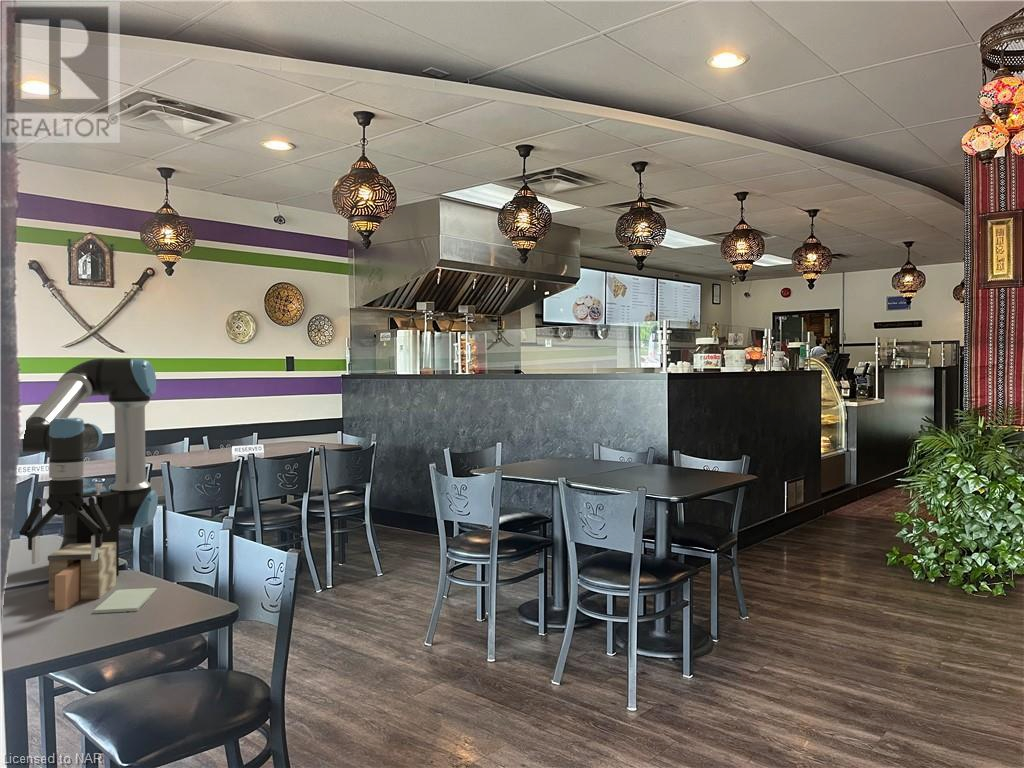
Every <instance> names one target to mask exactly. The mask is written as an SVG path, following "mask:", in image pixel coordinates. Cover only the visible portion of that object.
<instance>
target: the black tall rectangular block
mask: <svg viewBox="0 0 1024 768" xmlns="http://www.w3.org/2000/svg"><path fill="white" fill-rule="evenodd" d="M94 487H95V488H96V492H92V493H88V494H83V496H84V498H89V497H92V496H96V497H97V503H98V506H99V508H100V510H101V511H102V513H103V515H104V517H105V519H106V521H107V523H108V524H109V526H110V530H109V531H108V532H106V533H103V534H102V543H103V542H116V577H118V576H119V567H120V566H119V561H120V559H119V553H120V551H119V549H120V547H119V545H120V544H119V542H120V533H119V531H120V528H119V492H110V491H106V492H101V489H102V487H103V483H102V482H101V483H99V482H98V483H94ZM81 507H82V508H83V509H84V510H85V511H86V513H87V514H88V515H89V516H90V517H91V518H92V519H93V521H94V522H95V523H96V524H97V525H98V526H99V524H98V522H97V520H96V519H95V517H94V515H93V513H92V511H91V509H90V507H89V506H88V505H87V504H86V503H85V502H84V504H83V505H82V506H81ZM99 527H100V526H99ZM93 535H94V533H93V532H92V531H91V530H90V529H89V528H88V527H87V526H86V525H85V524H84V522H83V521H82V520H81V519H80V518H79V517H77V543H91V536H93Z"/></svg>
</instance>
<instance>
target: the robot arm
mask: <svg viewBox="0 0 1024 768" xmlns="http://www.w3.org/2000/svg"><path fill="white" fill-rule="evenodd" d="M156 376H157V375H156V373H155V369H154V367H153V365H152V363H151V362H150V361H148V360H146V359H139V358H93V359H89V360H86V361H84V362H81V363H80V364H76V365H75V366H74V367H71V368H70V369H69V370H67V371H66V372H65V373H64V374H63V375H62V376H61V377H60V378H59V379H58V381H57V384H56V385H57V386H56V388H55V389H54V390H52V392H51V393H50V394H49V395H48V396H47V397H46V398H45V400H44V401H43V402H42V403H41V404H40V405H39V406H37V408H36V409H35V411H34V412H33V413H32V414H31V415H30V416H28V418H27V419H26V420H25V421H26V430H25V434H24V439H23V453H22V454H25V453H27V454H28V453H29V454H30V453H33V454H34V453H35V454H36V453H49V455H48V456H49V458H48V459H49V460H48V461H49V462H48V466H49V467H48V477H49V478H50V480H49V481H48V497H47V498H44V497H42V496H41V497H37V498H35V499H34V502H33V507H32V509H31V511H30V513H29V514H28V516H27V518H26V520H25V521H24V523H23V525H22V527H21V529H20V531H19V532H18V534H19V536H24V537H26V538H27V549H28V551H31V564H32V565H35V564H38V563H40V559H41V555H40V553H41V547H40V546H41V536H40V535H38V534H39V532H40V531H42V530H43V528H44V527H45V526H46V525H47V523H49V522H50V521H51V519H53V517H54V516H62V532H63V533H62V542H61V544H60V547H59V549H61V548H63V547H65V546H67V545H68V544H75V543H77V517H79V518H80V519H81V520H82V521H83V522H84V524H85V525H86V526H87V527H88V528H89V529H90V530H91V531H92V532H93V533H94V535H93V536H91V562H94V561H96V560H97V559H98V548H100V547H101V546H102V534H103V533H106V532H108V531H109V530H110V526H109V524H108V523H107V521H106V519H105V517H104V515H103V513H102V511H101V510H100V508H99V506H98V503H97V497H96V496H92V497H89V498H84V496H83V494H88V493H92V492H96V488H95V486H94V487H89V488H84V479H83V476H84V453H86V452H87V453H89V452H91V451H93V450H95V449H97V448H99V446H100V445H102V442H103V441H104V440H103V439H104V435H103V432H102V430H101V428H100V427H99V426H97V425H96V424H93V423H88V422H87V423H85V422H84V420H83V418H80V417H70V416H71V414H72V413H73V411H75V409H76V408H77V407H78V406H79V405H80V403H81V402H84V401H86V400H88V399H90V397H93V396H108V402H109V404H111V405H112V406H113V408H114V450H115V452H114V453H115V455H114V458H115V459H114V460H115V466H114V467H115V468H114V469H115V482H114V483H113V484H112V485H111V486H109V487H110V490H109V492H119V529H137V528H146V527H148V526H150V525H151V524H152V522H153V521H154V519H155V517H156V513H157V510H158V502H159V496H158V492H157V491H156V490H154V489H152V483H150V482H149V481H148V480H147V477H146V476H147V475H146V472H147V471H146V470H147V469H146V468H147V467H146V465H147V464H146V405H147V404H148V403H149V402H150V401H151V397H152V396H154V395H156V391H157V385H158V383H157V377H156ZM81 477H82V478H81ZM101 492H107V488H106V487H105V486H102V489H101ZM84 502H85V503H86V504H87V505H88V506H89V507H90V509H91V511H92V513H93V515H94V517H95V519H96V520H97V522H98V524H99V526H100V527H99V526H98V525H97V524H96V523H95V522H94V521H93V519H92V518H91V517H90V516H89V515H88V514H87V513H86V511H85V510H84V509H83V508H82V507H81V506H82V505H83V504H84ZM46 504H47V506H48V507H49V510H48V511H47V512H46V513H45V515H44V516H43V517H42V518H41V519H40V520H39V521H38V522H37V524H35V525H34V523H35V521H37V518H38V516H39V514H40V512H41V511H42V508H43V507H45V506H46ZM33 525H34V526H33ZM32 527H33V528H32Z"/></svg>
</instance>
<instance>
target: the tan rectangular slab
mask: <svg viewBox="0 0 1024 768" xmlns="http://www.w3.org/2000/svg"><path fill="white" fill-rule="evenodd" d="M80 600H81V560H79V561H77V562H75V563H74V564H72V565H71V566H69V567H68V568H66V569H65V570H63V571H61V572H60V573H58V574H57V575H55V601H54V611H55V610H64V611H67V610H68V609H69V608H71V607H72V606H73V605H75V602H76V603H77V602H78V601H80ZM71 605H72V606H71ZM67 608H68V609H67ZM66 609H67V610H66Z"/></svg>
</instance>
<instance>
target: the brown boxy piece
mask: <svg viewBox="0 0 1024 768" xmlns="http://www.w3.org/2000/svg"><path fill="white" fill-rule="evenodd" d="M79 560H81V599H80V600H81V601H82V600H98V599H100V598H102V597H103V596H104V595H105V594H107V592H109V591H110V590H111V589H113V588H114V587H115V586H116V585H117V576H116V542H103V543H102V546H101V547H100V548H98V559H97V560H96V561H94V562H91V543H75V544H68V545H67V546H65V547H63V548H61V549H60V548H59V549H58V550H55V552H54V551H53V552H52V553H51V554H49V555H47V561H48V602H55V575H57V574H58V573H60V572H61V571H63V570H65V569H66V568H68V567H69V566H71V565H72V564H74V563H75V562H77V561H79Z"/></svg>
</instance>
